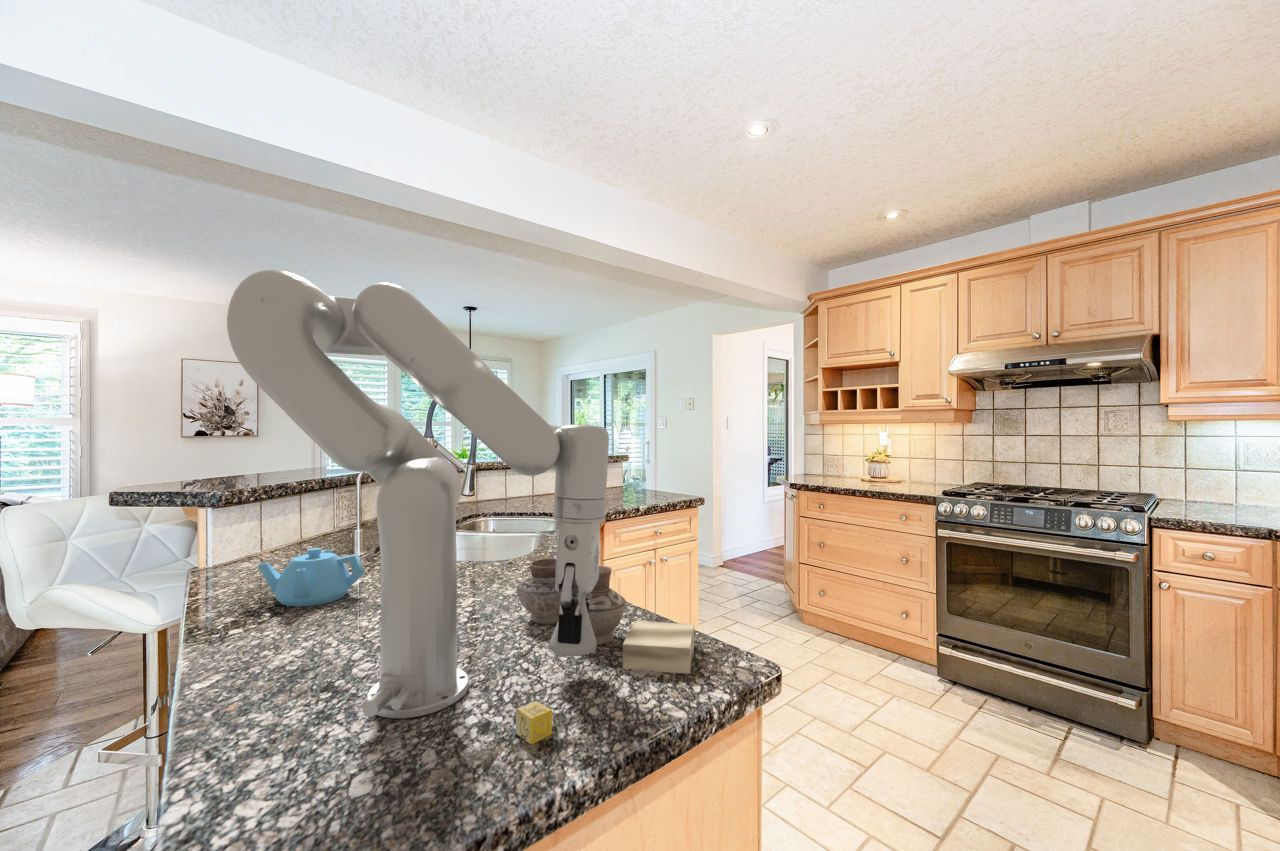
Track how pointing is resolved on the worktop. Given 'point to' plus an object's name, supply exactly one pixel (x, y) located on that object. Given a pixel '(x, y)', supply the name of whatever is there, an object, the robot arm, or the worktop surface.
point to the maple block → (659, 647)
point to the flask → (587, 636)
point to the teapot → (313, 578)
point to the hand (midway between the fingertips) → (573, 634)
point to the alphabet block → (533, 722)
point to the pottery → (546, 599)
